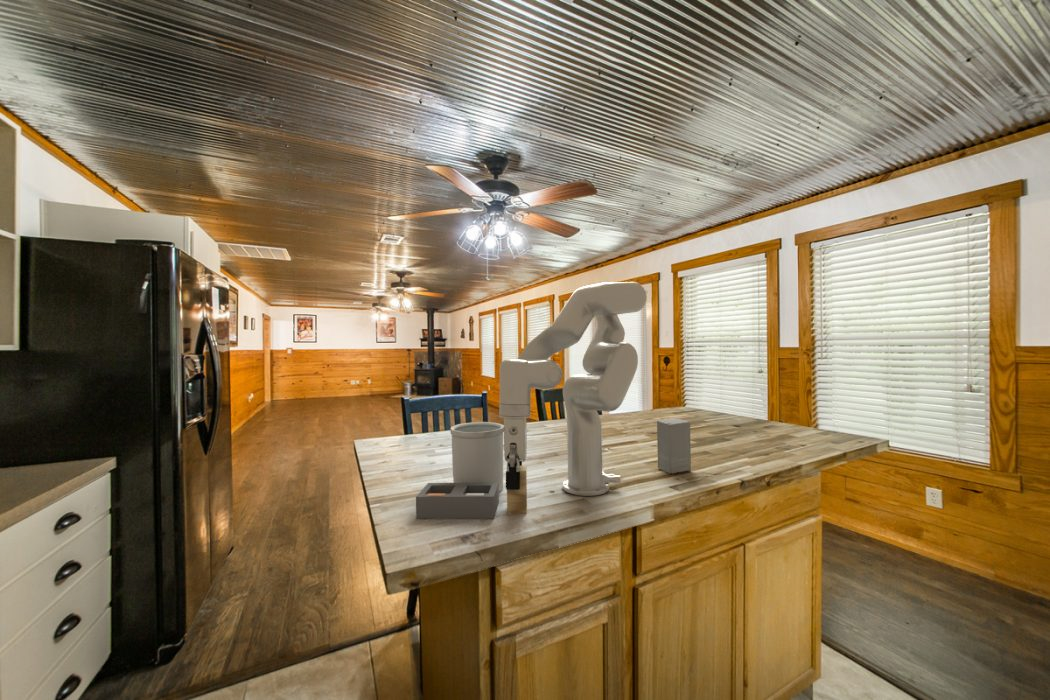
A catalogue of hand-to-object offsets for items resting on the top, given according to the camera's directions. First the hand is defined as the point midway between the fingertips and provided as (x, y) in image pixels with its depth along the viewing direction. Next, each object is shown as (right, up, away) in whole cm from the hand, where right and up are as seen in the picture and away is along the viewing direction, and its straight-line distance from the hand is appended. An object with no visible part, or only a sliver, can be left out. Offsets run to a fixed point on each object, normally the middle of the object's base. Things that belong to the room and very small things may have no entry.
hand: (514, 482), depth 94 cm
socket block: (-13, -7, +1) cm, 15 cm away
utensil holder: (-10, -7, +16) cm, 20 cm away
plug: (+1, -7, 0) cm, 7 cm away
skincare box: (+50, -7, +31) cm, 59 cm away
